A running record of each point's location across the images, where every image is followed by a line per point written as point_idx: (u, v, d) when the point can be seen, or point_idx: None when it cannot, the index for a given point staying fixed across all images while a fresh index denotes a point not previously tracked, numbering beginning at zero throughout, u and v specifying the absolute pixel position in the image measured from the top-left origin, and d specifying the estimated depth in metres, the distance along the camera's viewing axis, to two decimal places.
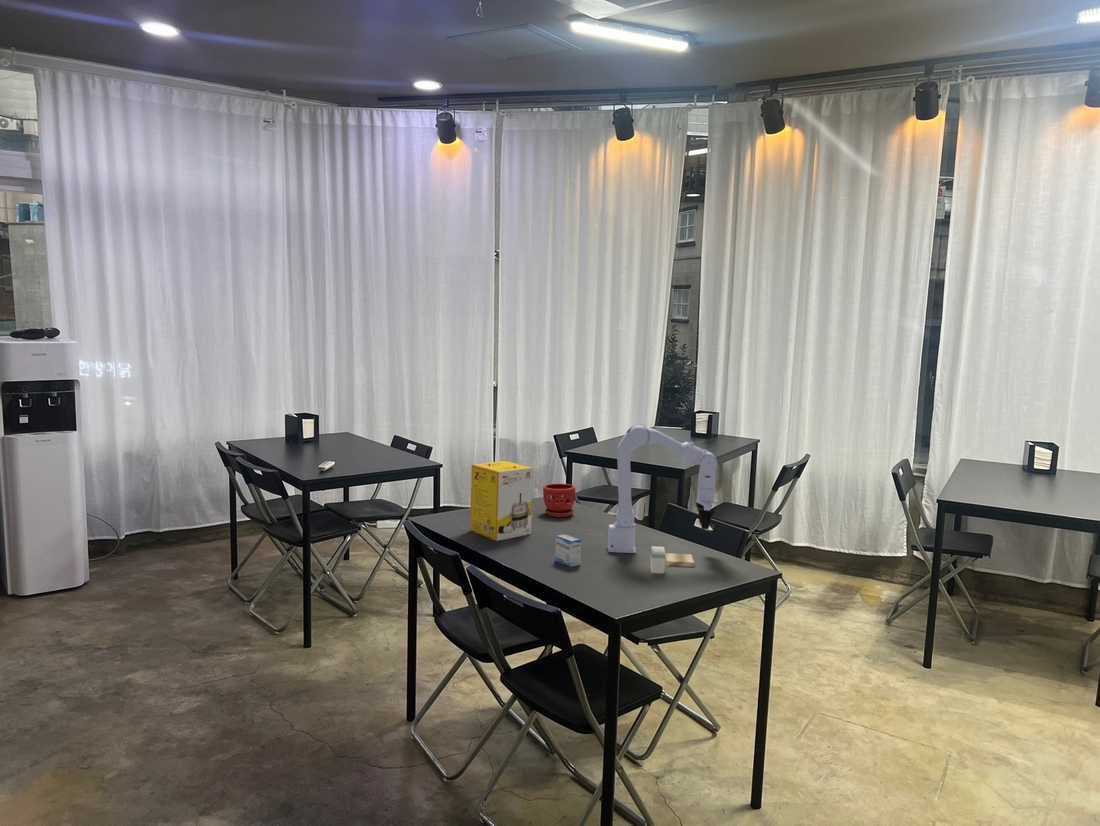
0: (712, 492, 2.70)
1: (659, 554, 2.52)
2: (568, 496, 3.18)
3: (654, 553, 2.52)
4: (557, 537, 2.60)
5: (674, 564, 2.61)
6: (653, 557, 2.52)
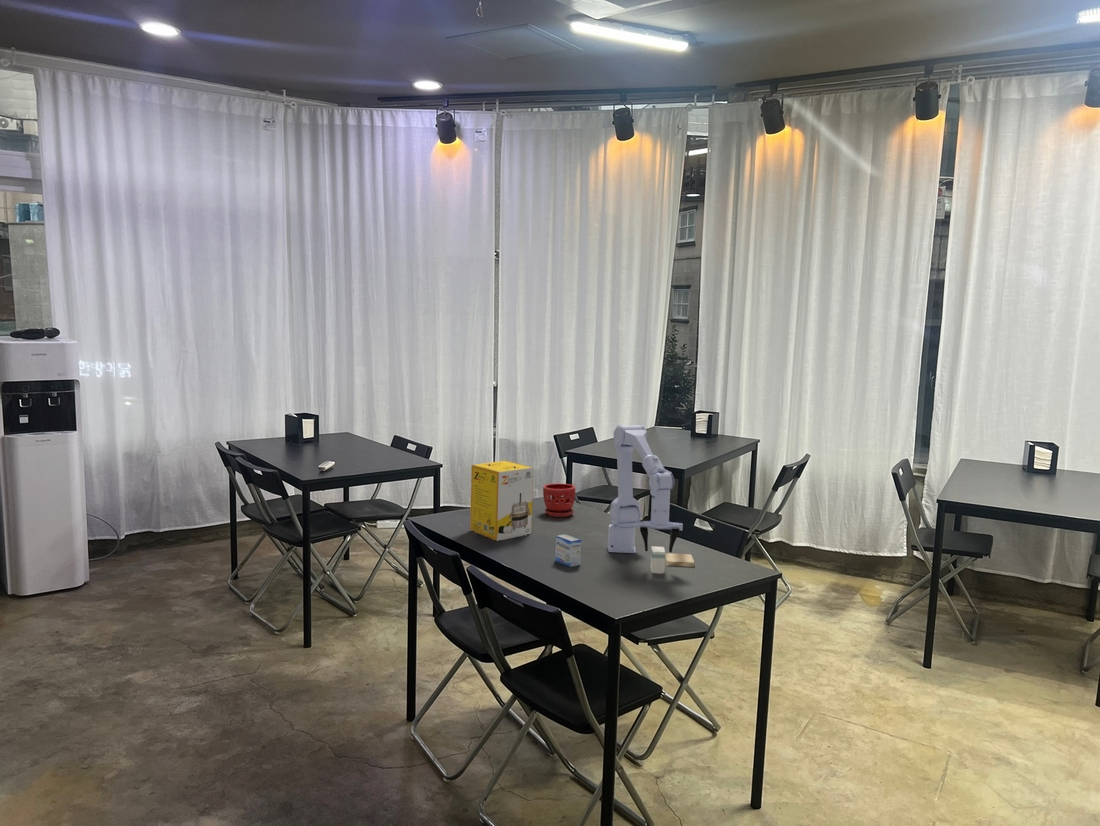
0: (654, 514, 2.52)
1: (659, 554, 2.52)
2: (568, 496, 3.18)
3: (654, 553, 2.52)
4: (557, 537, 2.60)
5: (674, 564, 2.61)
6: (653, 557, 2.52)
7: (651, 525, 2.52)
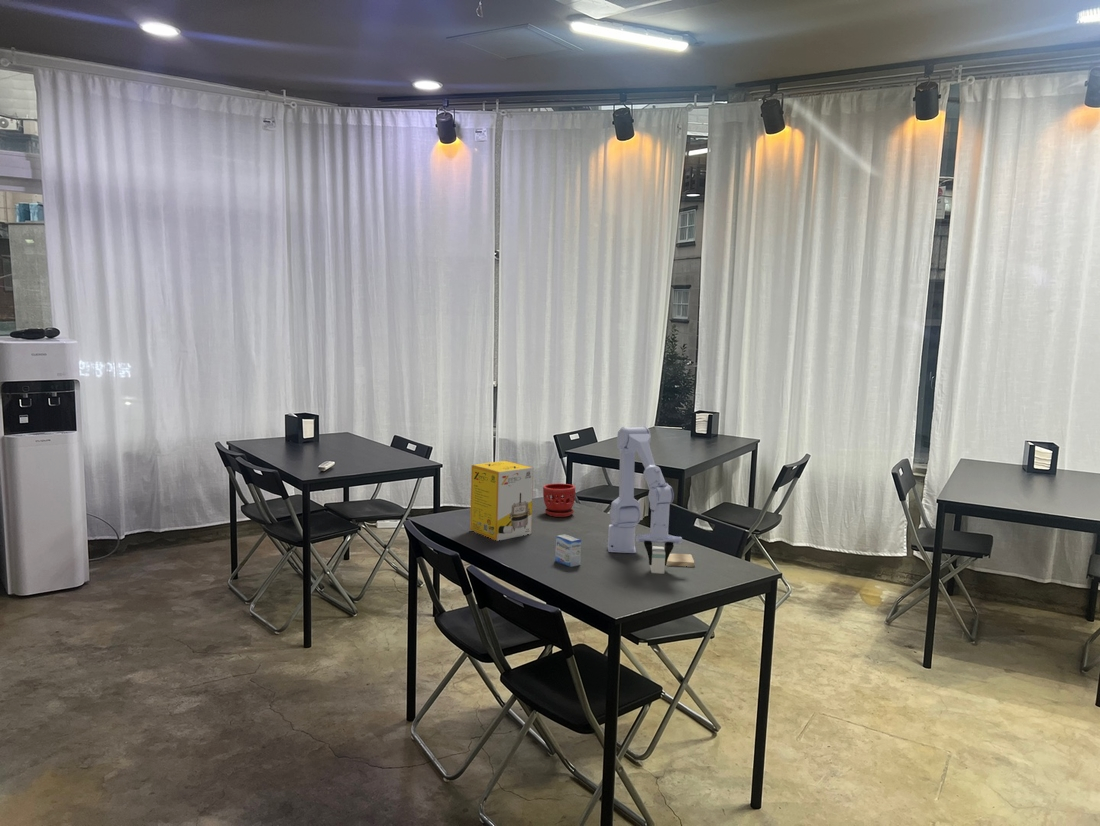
0: (653, 528, 2.52)
1: (659, 554, 2.52)
2: (568, 496, 3.18)
3: (654, 553, 2.52)
4: (557, 537, 2.60)
5: (674, 564, 2.61)
6: (653, 557, 2.52)
7: (650, 539, 2.52)
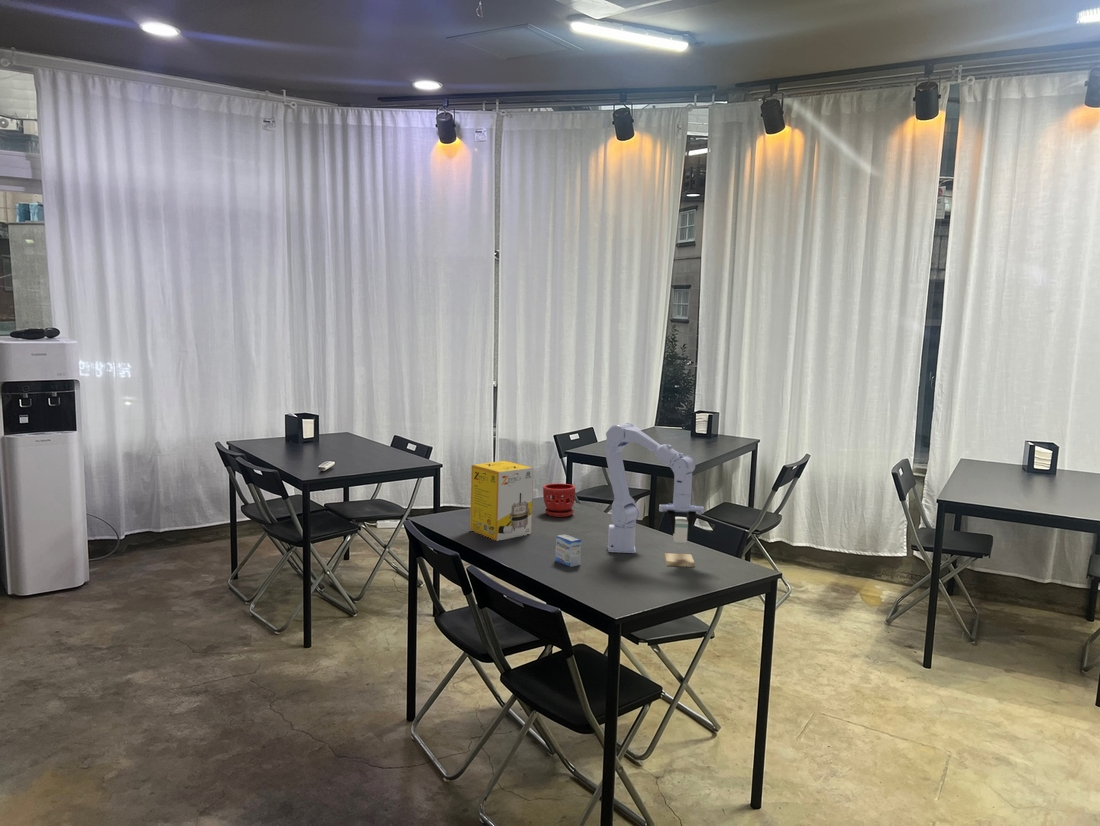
0: (676, 497, 2.61)
1: (682, 524, 2.60)
2: (568, 496, 3.18)
3: (677, 522, 2.60)
4: (557, 537, 2.60)
5: (674, 564, 2.61)
6: (676, 526, 2.61)
7: (673, 508, 2.61)
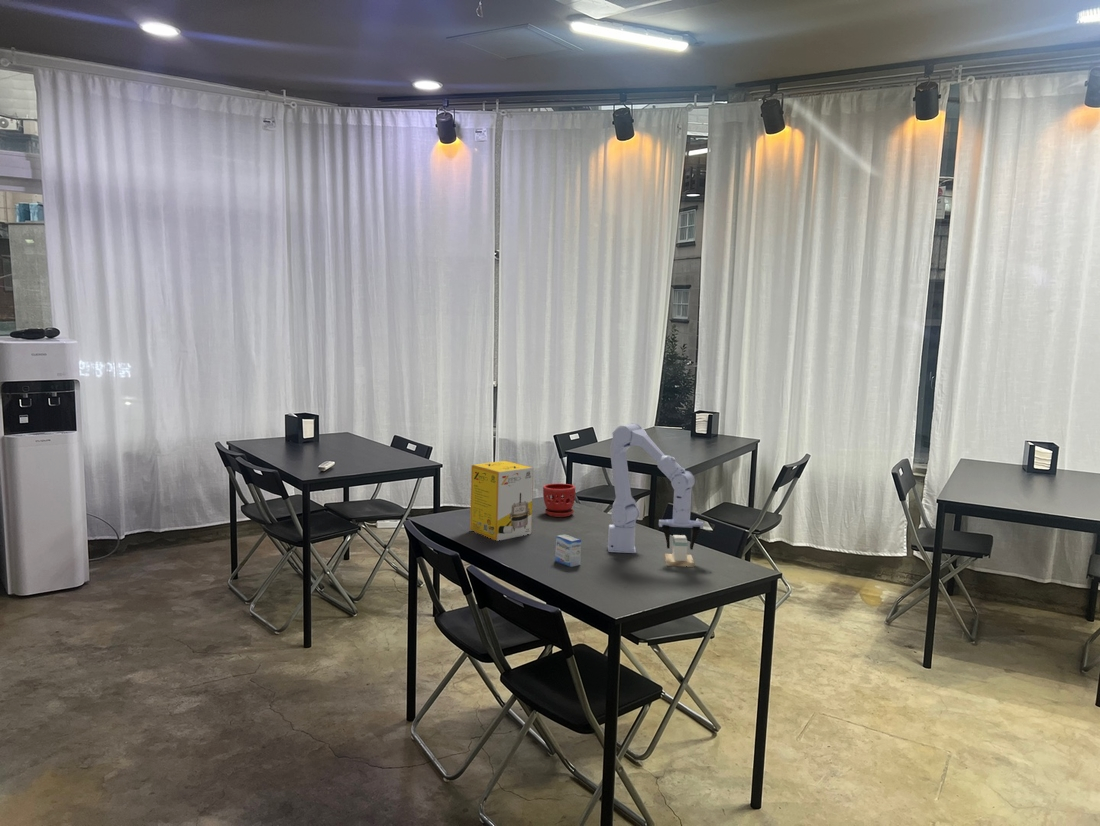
0: (676, 513, 2.61)
1: (682, 542, 2.61)
2: (568, 496, 3.18)
3: (677, 541, 2.61)
4: (557, 537, 2.60)
5: (674, 564, 2.61)
6: (676, 545, 2.62)
7: (673, 523, 2.62)
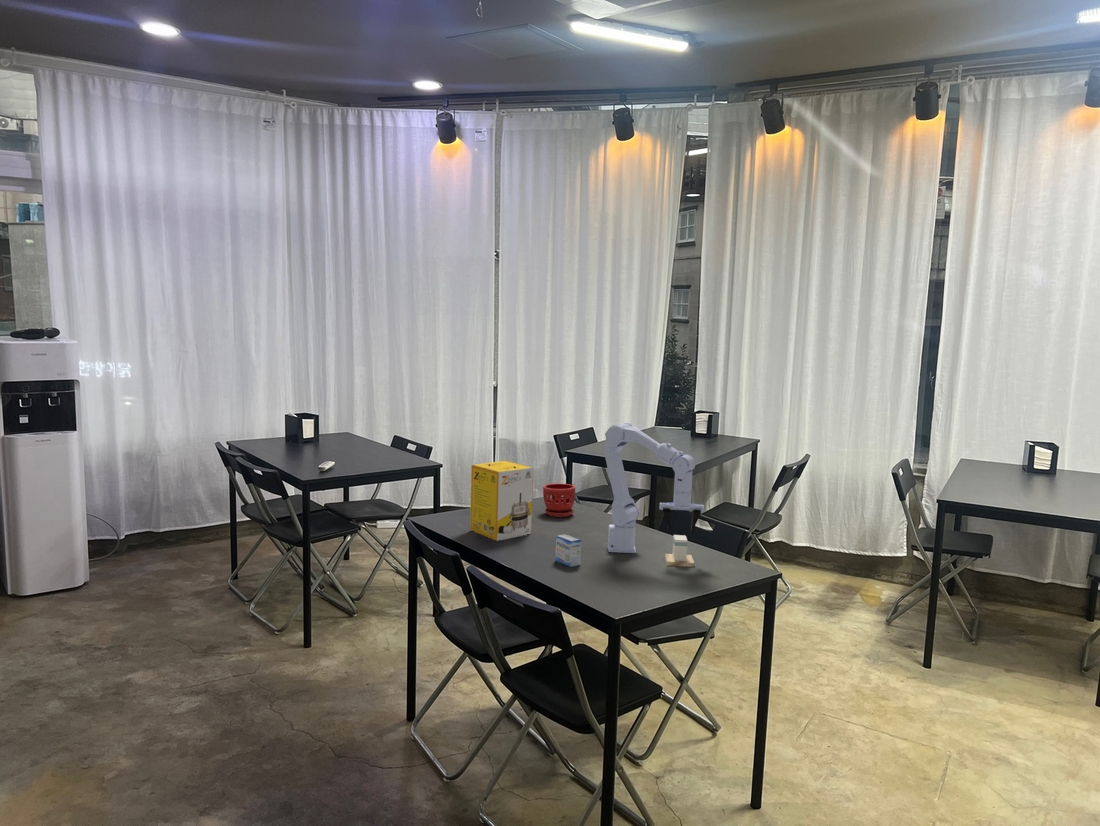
0: (676, 496, 2.61)
1: (681, 542, 2.62)
2: (568, 496, 3.18)
3: (676, 541, 2.62)
4: (557, 537, 2.60)
5: (674, 564, 2.61)
6: (675, 545, 2.62)
7: (674, 506, 2.61)
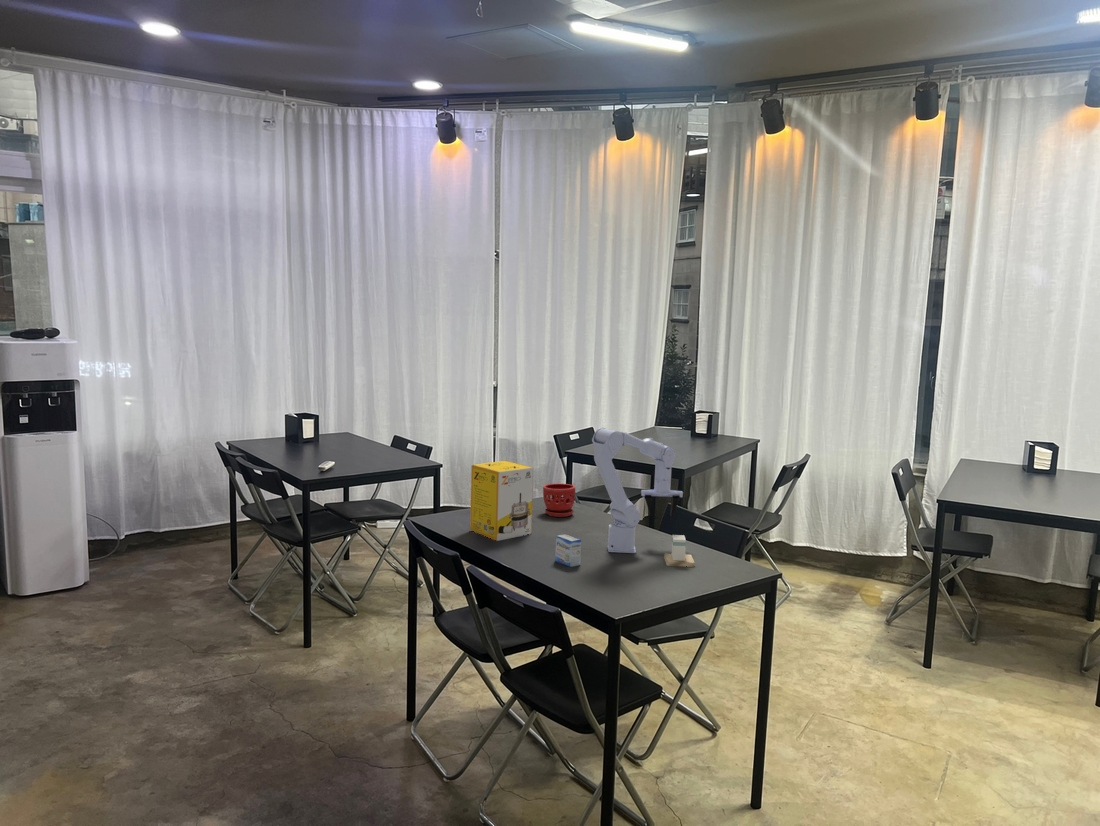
0: (657, 483, 2.81)
1: (680, 542, 2.61)
2: (568, 496, 3.18)
3: (675, 541, 2.61)
4: (557, 537, 2.60)
5: (674, 564, 2.61)
6: (674, 545, 2.62)
7: (655, 493, 2.81)
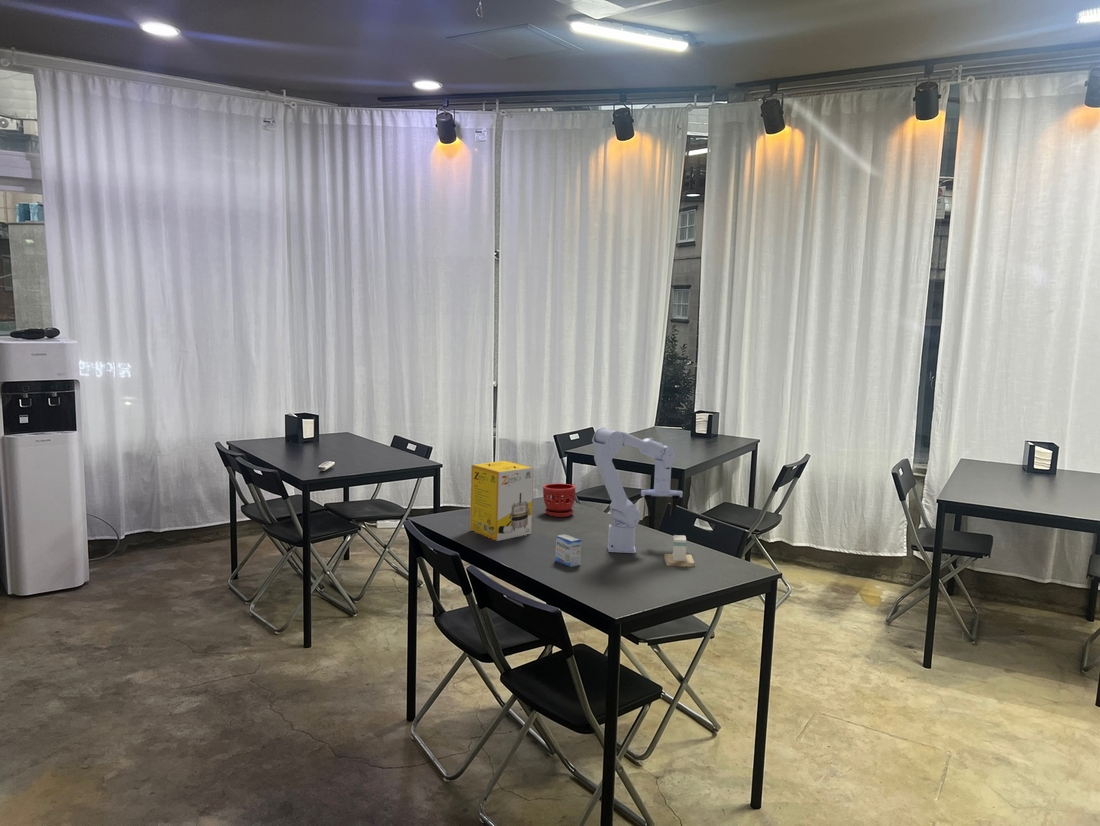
0: (657, 483, 2.81)
1: (680, 542, 2.61)
2: (568, 496, 3.18)
3: (675, 541, 2.61)
4: (557, 537, 2.60)
5: (674, 564, 2.61)
6: (674, 545, 2.62)
7: (655, 493, 2.81)
